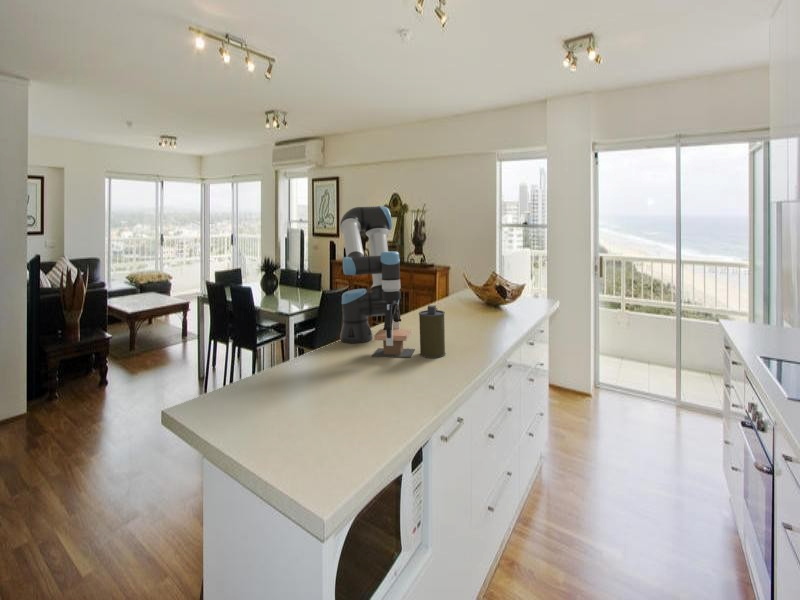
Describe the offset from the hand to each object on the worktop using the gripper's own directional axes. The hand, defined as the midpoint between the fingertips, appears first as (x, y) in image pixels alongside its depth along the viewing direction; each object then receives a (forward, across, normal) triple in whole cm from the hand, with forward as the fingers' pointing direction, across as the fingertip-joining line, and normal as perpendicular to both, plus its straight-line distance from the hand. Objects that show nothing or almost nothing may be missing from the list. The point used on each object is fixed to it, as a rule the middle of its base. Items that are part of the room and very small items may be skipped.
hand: (393, 341), depth 177 cm
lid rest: (+5, 0, 0) cm, 5 cm away
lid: (-2, 0, 0) cm, 2 cm away
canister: (+6, -1, +16) cm, 17 cm away
